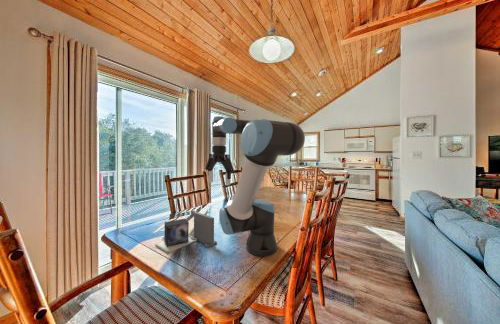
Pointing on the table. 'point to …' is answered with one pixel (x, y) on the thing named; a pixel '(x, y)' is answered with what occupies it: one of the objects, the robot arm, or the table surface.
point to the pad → (174, 247)
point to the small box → (176, 232)
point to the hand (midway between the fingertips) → (218, 183)
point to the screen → (204, 229)
